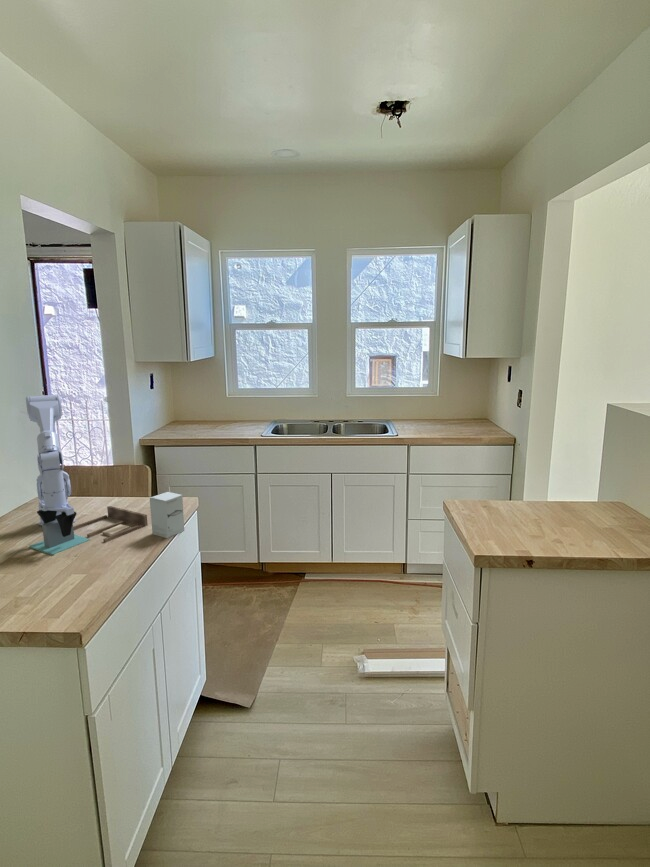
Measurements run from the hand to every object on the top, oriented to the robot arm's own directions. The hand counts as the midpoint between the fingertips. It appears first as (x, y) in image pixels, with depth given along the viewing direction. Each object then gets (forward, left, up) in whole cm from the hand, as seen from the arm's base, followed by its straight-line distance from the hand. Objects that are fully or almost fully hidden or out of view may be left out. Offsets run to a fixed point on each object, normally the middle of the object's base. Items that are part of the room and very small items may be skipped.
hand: (59, 533), depth 147 cm
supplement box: (+23, +22, -4) cm, 32 cm away
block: (0, 0, -3) cm, 3 cm away
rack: (+2, +14, -3) cm, 15 cm away
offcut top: (+8, +14, -3) cm, 16 cm away
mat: (0, 0, -3) cm, 3 cm away
